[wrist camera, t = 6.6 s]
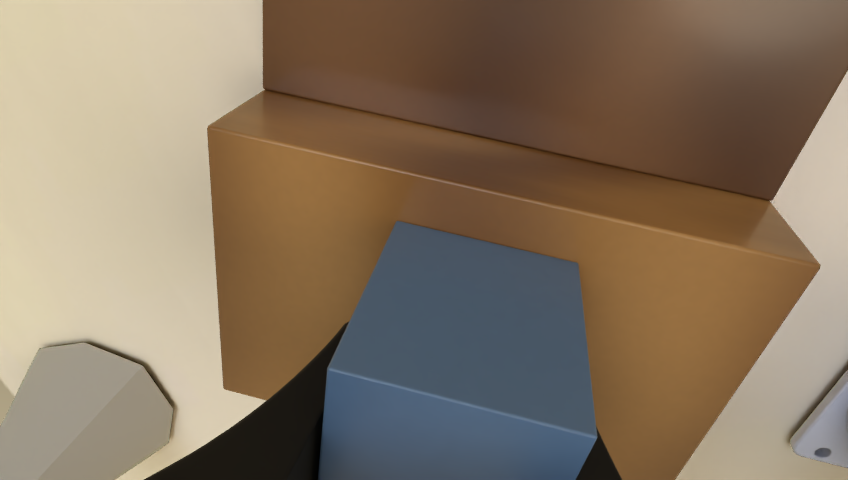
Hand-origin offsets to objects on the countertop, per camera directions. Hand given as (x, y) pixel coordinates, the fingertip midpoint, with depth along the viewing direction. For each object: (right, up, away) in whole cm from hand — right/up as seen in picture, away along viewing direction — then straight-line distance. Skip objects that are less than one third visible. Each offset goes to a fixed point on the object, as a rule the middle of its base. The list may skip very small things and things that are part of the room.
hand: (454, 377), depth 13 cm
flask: (-16, -4, +14) cm, 22 cm away
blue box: (0, +1, +1) cm, 1 cm away
